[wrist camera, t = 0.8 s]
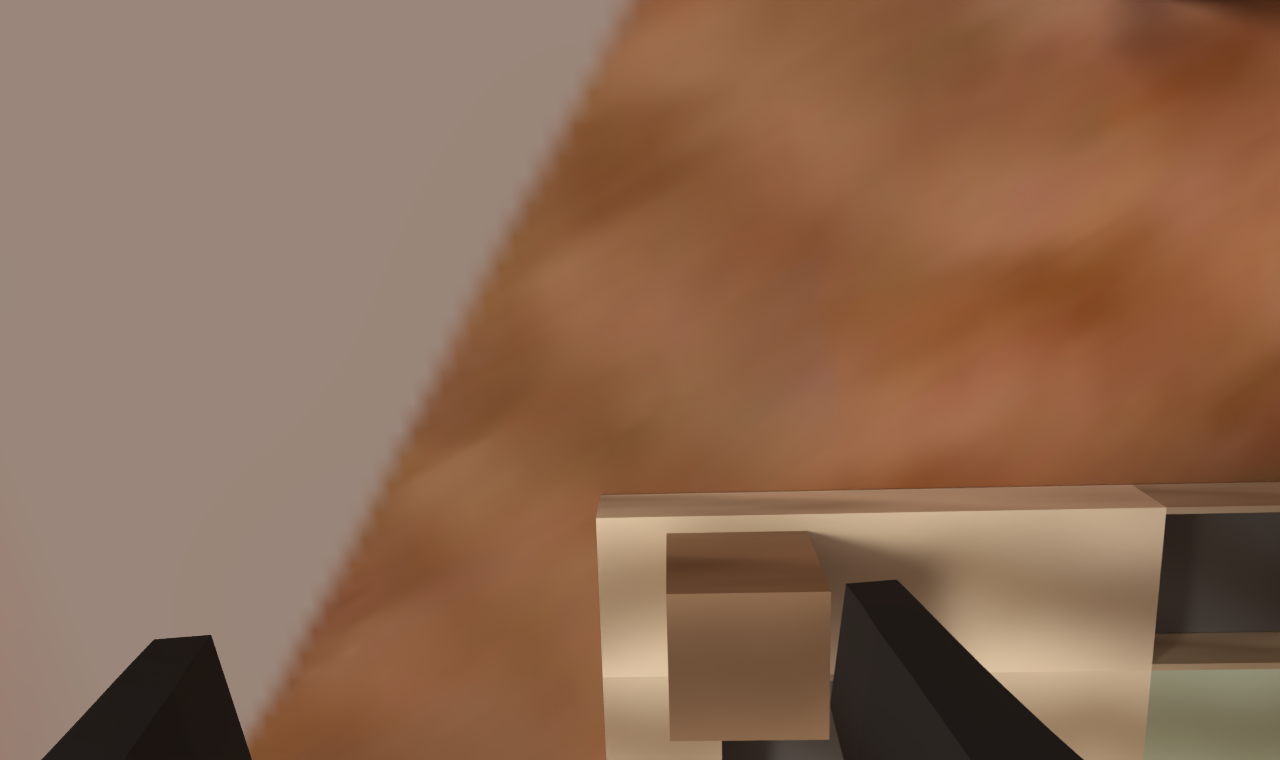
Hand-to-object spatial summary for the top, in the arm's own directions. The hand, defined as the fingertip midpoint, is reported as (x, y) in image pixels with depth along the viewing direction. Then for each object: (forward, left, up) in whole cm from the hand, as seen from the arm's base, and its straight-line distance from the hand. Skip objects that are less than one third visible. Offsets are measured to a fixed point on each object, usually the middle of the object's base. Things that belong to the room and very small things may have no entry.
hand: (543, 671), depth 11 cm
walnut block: (-6, -3, -15) cm, 17 cm away
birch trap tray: (-9, -10, -17) cm, 22 cm away
